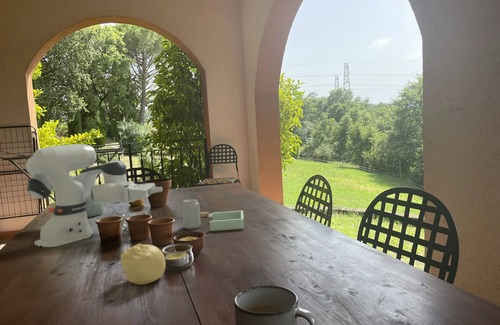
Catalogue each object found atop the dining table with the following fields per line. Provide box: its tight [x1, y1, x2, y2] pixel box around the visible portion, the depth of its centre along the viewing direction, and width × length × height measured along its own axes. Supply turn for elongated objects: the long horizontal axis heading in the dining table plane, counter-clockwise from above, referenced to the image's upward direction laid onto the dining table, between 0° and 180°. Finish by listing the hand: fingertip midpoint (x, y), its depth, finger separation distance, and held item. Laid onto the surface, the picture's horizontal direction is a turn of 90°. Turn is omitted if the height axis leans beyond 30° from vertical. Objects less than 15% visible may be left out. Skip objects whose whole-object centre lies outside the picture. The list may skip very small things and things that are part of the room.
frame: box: [209, 210, 245, 232], centre depth 170 cm, size 14×16×4 cm
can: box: [181, 198, 201, 230], centre depth 170 cm, size 8×8×12 cm
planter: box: [85, 195, 105, 218], centre depth 207 cm, size 12×12×11 cm
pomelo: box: [120, 243, 167, 286], centre depth 114 cm, size 12×12×11 cm
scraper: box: [200, 211, 213, 219], centre depth 189 cm, size 15×7×2 cm, turn 89°
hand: (161, 189), depth 169 cm, fingers closed
